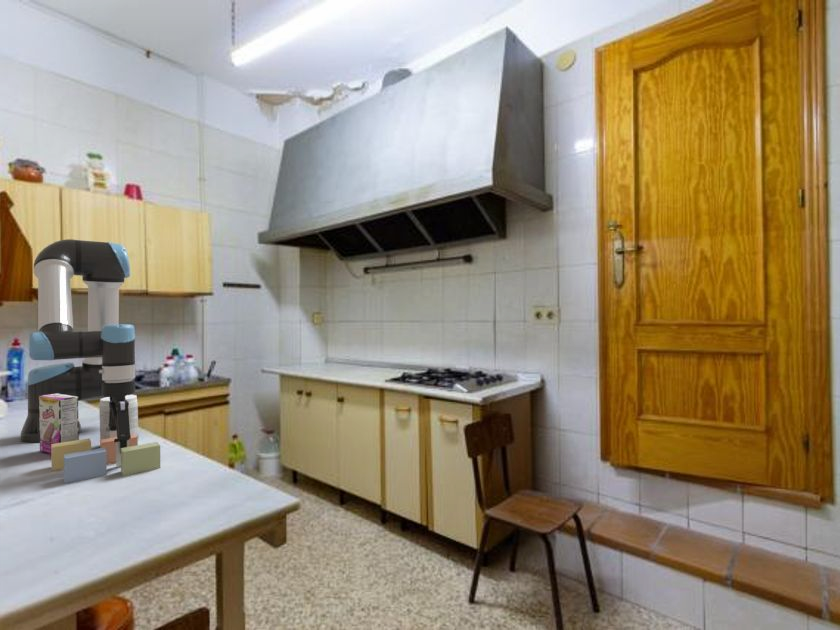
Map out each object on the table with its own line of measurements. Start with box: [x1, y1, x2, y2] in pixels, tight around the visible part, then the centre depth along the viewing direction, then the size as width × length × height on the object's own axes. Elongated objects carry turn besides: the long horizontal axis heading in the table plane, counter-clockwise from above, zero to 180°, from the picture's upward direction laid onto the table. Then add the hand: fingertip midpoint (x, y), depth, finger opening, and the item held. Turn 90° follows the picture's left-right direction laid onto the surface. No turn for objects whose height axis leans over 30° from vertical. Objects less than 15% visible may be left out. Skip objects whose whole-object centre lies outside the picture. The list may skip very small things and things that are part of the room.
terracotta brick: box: [99, 434, 139, 465], centre depth 119 cm, size 8×4×6 cm, turn 132°
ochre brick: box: [50, 437, 92, 471], centre depth 115 cm, size 8×4×6 cm, turn 132°
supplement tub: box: [99, 394, 140, 441], centre depth 132 cm, size 10×10×15 cm
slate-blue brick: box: [63, 448, 108, 484], centre depth 106 cm, size 8×4×6 cm, turn 132°
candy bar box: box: [39, 393, 80, 455], centre depth 125 cm, size 11×5×16 cm, turn 65°
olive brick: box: [120, 441, 161, 477], centre depth 111 cm, size 8×4×6 cm, turn 132°
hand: (119, 459), depth 119 cm, fingers open, 12 cm apart
